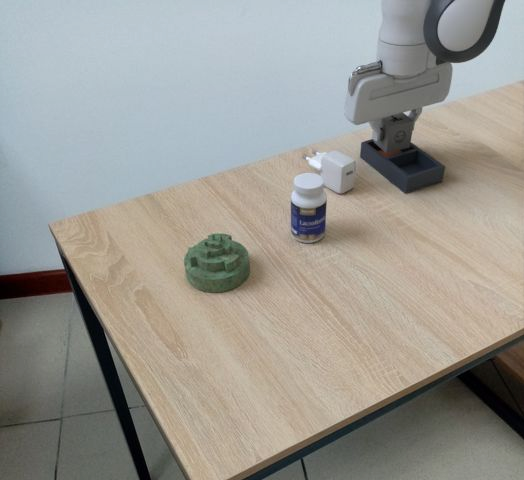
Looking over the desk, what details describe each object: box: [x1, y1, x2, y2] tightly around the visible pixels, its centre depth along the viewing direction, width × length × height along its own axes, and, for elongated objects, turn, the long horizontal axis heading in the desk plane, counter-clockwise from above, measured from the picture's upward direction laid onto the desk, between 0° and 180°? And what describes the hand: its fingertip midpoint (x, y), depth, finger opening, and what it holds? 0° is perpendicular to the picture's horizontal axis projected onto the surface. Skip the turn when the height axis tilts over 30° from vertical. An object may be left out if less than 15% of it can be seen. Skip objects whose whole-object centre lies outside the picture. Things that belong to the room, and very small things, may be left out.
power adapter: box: [301, 149, 357, 195], centre depth 97 cm, size 11×5×6 cm, turn 38°
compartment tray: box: [359, 138, 446, 194], centre depth 100 cm, size 8×15×3 cm, turn 25°
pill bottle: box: [290, 172, 328, 244], centre depth 85 cm, size 6×6×10 cm
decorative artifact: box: [183, 232, 251, 294], centre depth 81 cm, size 10×7×10 cm
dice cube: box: [373, 112, 415, 153], centre depth 99 cm, size 5×5×5 cm
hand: (392, 135), depth 100 cm, fingers closed on dice cube, 5 cm apart
